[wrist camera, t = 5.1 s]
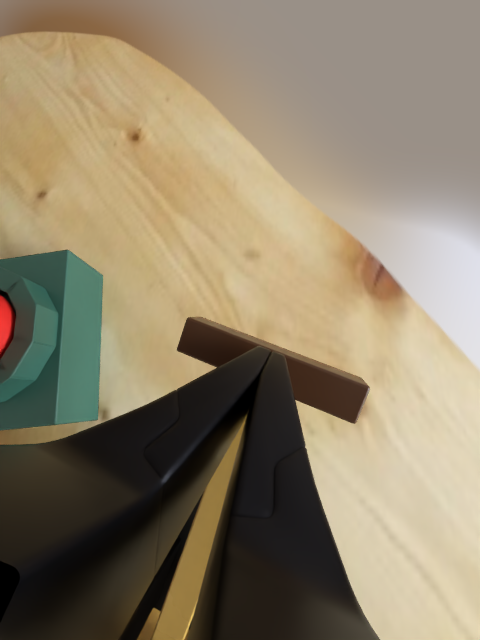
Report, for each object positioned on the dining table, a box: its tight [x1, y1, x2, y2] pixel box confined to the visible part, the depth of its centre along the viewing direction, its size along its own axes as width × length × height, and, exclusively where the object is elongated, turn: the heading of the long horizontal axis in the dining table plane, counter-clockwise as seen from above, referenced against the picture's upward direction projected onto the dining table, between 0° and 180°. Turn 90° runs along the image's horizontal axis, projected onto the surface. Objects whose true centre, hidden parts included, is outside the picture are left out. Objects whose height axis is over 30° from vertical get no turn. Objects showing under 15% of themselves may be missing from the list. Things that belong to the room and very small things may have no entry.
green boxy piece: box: [0, 250, 103, 430], centre depth 19 cm, size 11×8×6 cm
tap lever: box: [137, 317, 370, 640], centre depth 10 cm, size 15×6×2 cm, turn 158°
